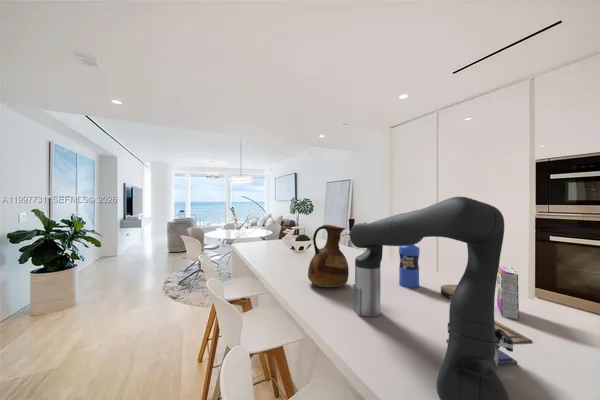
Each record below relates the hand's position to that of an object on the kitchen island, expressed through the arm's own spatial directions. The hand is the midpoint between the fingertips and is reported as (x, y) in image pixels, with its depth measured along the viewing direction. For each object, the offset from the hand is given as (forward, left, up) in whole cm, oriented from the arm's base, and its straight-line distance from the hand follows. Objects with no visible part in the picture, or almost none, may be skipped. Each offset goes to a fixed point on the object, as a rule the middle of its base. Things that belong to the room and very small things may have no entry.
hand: (479, 322), depth 68 cm
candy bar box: (+29, +19, -7) cm, 36 cm away
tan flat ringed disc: (+24, +35, -8) cm, 43 cm away
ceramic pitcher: (-31, +56, -7) cm, 64 cm away
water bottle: (+9, +51, -7) cm, 52 cm away
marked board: (+11, +8, -7) cm, 16 cm away
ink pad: (-2, -2, -7) cm, 8 cm away
